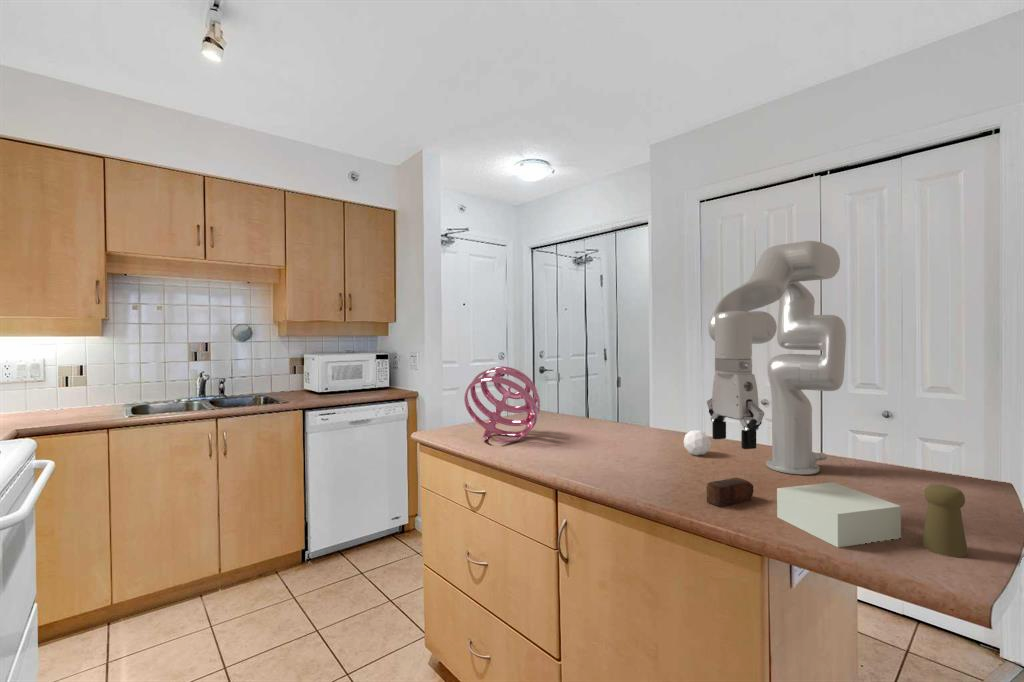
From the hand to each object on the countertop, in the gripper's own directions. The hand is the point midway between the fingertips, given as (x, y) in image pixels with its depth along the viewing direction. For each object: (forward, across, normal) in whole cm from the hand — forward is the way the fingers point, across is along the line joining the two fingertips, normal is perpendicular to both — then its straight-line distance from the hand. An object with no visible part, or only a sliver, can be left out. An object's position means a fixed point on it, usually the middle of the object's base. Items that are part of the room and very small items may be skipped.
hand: (733, 443), depth 104 cm
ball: (+13, +38, -17) cm, 44 cm away
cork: (+14, -28, -21) cm, 37 cm away
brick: (+14, +2, 0) cm, 14 cm away
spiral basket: (+14, +77, +36) cm, 87 cm away
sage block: (+14, -16, -11) cm, 23 cm away
